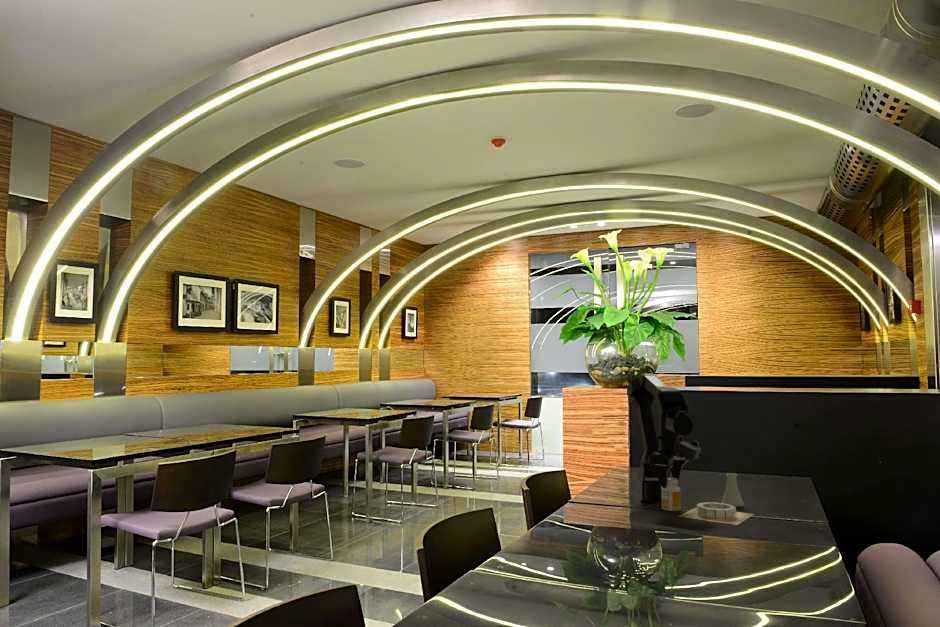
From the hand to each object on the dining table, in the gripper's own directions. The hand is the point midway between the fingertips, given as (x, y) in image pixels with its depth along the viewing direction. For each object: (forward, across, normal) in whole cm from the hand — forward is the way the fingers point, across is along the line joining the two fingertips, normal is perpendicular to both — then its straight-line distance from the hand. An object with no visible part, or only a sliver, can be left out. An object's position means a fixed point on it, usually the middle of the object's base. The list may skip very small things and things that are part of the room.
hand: (670, 485), depth 195 cm
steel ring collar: (+6, 0, -13) cm, 15 cm away
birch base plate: (+8, 0, -13) cm, 15 cm away
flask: (+8, +18, -12) cm, 23 cm away
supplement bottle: (+8, 0, 0) cm, 8 cm away
